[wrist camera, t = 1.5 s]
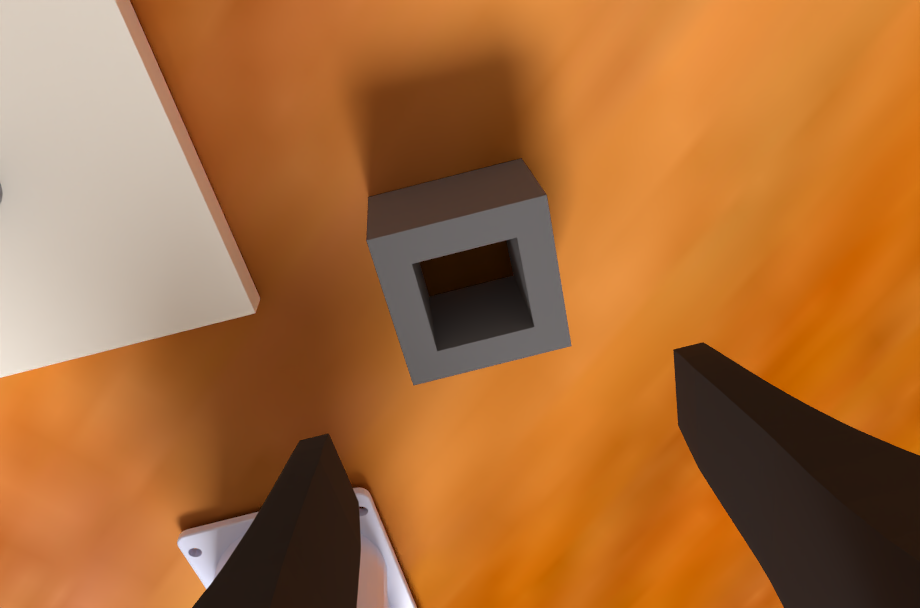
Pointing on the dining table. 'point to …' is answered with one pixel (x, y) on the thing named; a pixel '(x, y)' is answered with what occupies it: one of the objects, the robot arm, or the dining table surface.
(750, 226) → the dining table surface
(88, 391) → the dining table surface
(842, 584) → the robot arm
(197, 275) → the peg base
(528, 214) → the square frame block
